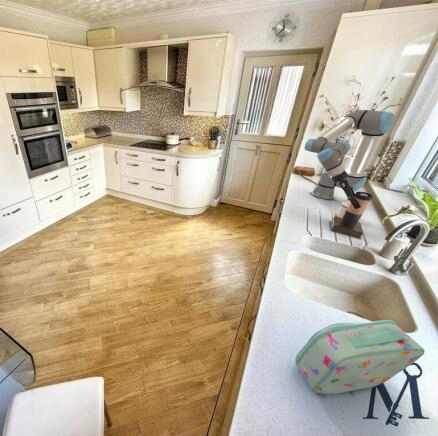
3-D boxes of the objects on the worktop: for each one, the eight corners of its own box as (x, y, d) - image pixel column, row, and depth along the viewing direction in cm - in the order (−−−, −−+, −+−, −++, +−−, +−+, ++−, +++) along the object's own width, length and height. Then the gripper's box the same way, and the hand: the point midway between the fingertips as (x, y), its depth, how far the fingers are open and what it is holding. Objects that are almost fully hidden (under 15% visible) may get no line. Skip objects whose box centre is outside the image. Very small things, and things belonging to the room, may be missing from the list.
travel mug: (353, 222, 143) (370, 193, 133) (357, 228, 137) (375, 198, 127) (338, 219, 146) (354, 190, 136) (341, 225, 140) (358, 195, 130)
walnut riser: (330, 221, 152) (333, 215, 150) (357, 228, 146) (360, 222, 144) (331, 230, 142) (334, 225, 140) (359, 238, 135) (363, 232, 133)
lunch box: (359, 351, 76) (397, 308, 65) (392, 386, 68) (442, 343, 57) (286, 362, 72) (314, 318, 61) (311, 401, 63) (348, 357, 53)
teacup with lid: (350, 222, 152) (359, 206, 146) (334, 216, 157) (342, 201, 152) (353, 216, 160) (361, 200, 154) (337, 211, 165) (345, 196, 159)
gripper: (329, 171, 146) (347, 199, 147) (330, 183, 128) (351, 214, 129) (343, 164, 141) (362, 193, 142) (346, 175, 123) (368, 209, 124)
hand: (356, 203), depth 135 cm, fingers open, 13 cm apart
